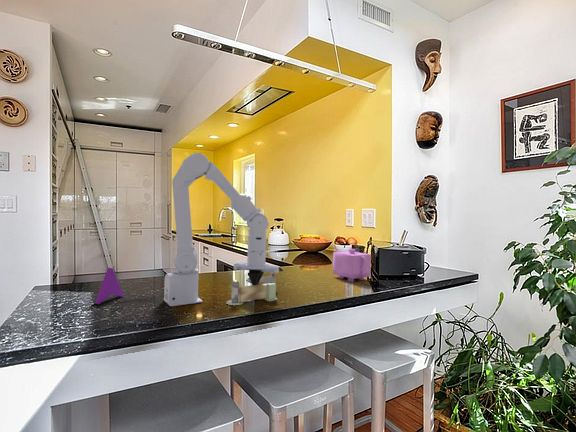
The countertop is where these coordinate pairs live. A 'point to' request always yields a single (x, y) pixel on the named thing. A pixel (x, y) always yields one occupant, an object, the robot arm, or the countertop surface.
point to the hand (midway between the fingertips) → (255, 293)
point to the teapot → (351, 264)
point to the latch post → (271, 292)
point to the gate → (252, 292)
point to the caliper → (267, 279)
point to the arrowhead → (109, 287)
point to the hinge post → (234, 294)
